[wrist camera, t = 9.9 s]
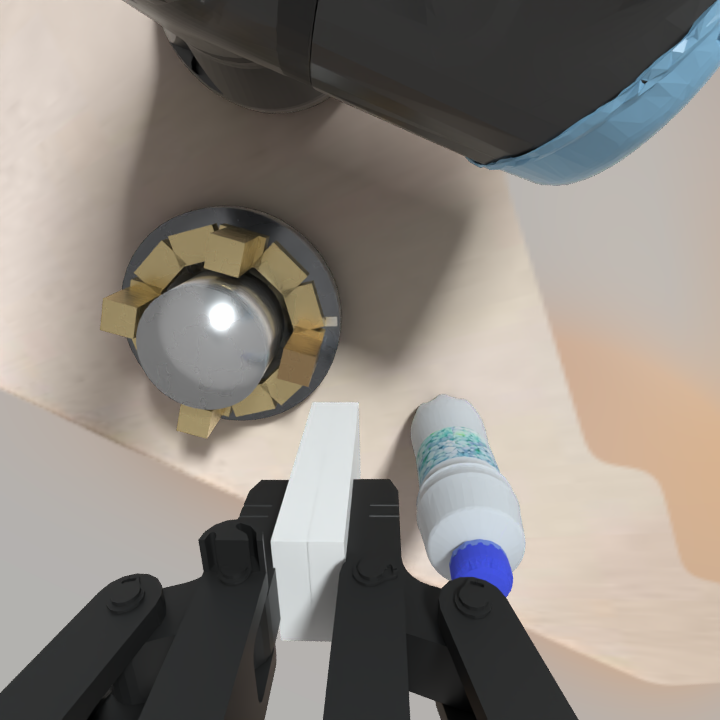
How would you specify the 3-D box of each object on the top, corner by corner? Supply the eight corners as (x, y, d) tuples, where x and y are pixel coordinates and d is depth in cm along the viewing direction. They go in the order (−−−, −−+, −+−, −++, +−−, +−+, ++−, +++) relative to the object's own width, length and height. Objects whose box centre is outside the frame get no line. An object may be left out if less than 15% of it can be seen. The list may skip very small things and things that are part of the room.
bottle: (411, 455, 47) (430, 643, 28) (403, 390, 45) (417, 548, 26) (483, 448, 46) (552, 634, 28) (479, 381, 44) (550, 536, 25)
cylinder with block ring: (125, 381, 43) (92, 408, 38) (147, 200, 38) (112, 205, 33) (299, 428, 44) (288, 460, 39) (344, 258, 38) (339, 270, 34)
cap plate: (113, 208, 40) (42, 217, 32) (337, 203, 39) (325, 212, 31) (151, 410, 46) (100, 463, 38) (345, 410, 46) (336, 464, 37)
